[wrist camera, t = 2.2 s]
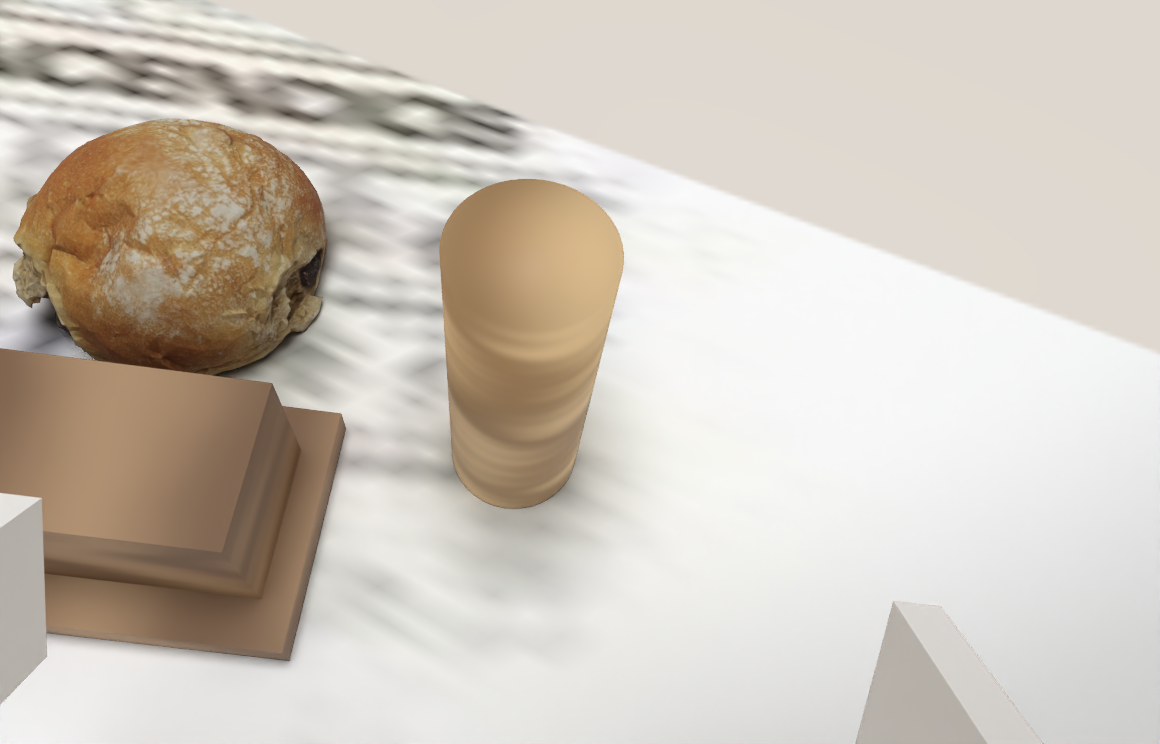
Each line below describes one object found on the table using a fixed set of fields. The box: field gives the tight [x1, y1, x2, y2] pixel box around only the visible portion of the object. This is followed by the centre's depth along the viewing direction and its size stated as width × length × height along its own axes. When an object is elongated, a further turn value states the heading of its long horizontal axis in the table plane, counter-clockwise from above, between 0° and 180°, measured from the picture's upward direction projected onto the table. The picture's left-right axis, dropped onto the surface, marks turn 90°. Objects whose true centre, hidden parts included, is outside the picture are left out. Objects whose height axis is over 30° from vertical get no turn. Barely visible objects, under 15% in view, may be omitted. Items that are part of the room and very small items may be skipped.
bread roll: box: [13, 119, 327, 375], centre depth 32 cm, size 10×10×8 cm
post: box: [440, 179, 624, 509], centre depth 26 cm, size 4×4×12 cm
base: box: [0, 348, 346, 661], centre depth 27 cm, size 16×8×6 cm, turn 85°
